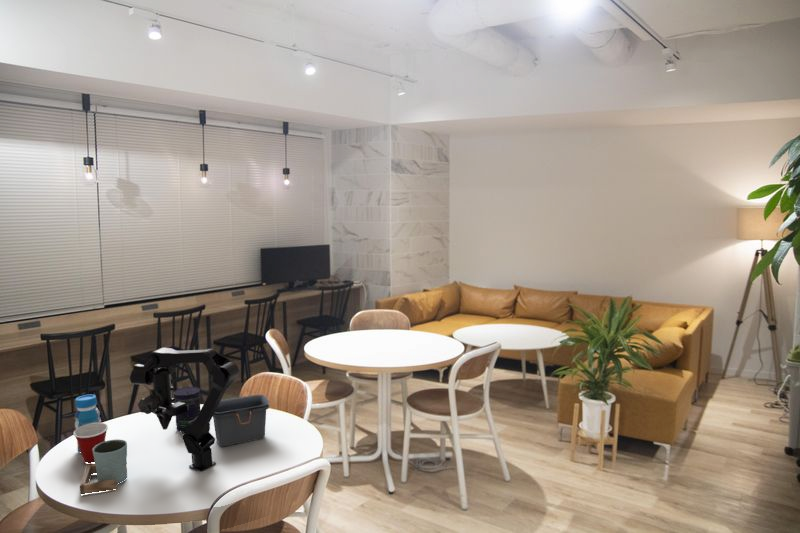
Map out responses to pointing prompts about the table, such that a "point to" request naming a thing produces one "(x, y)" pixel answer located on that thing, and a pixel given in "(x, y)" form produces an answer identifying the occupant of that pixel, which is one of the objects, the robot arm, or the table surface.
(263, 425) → the storage bin
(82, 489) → the walnut bay
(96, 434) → the plastic cup
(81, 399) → the beverage bottle
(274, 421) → the table surface
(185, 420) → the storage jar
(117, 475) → the green plant pot
